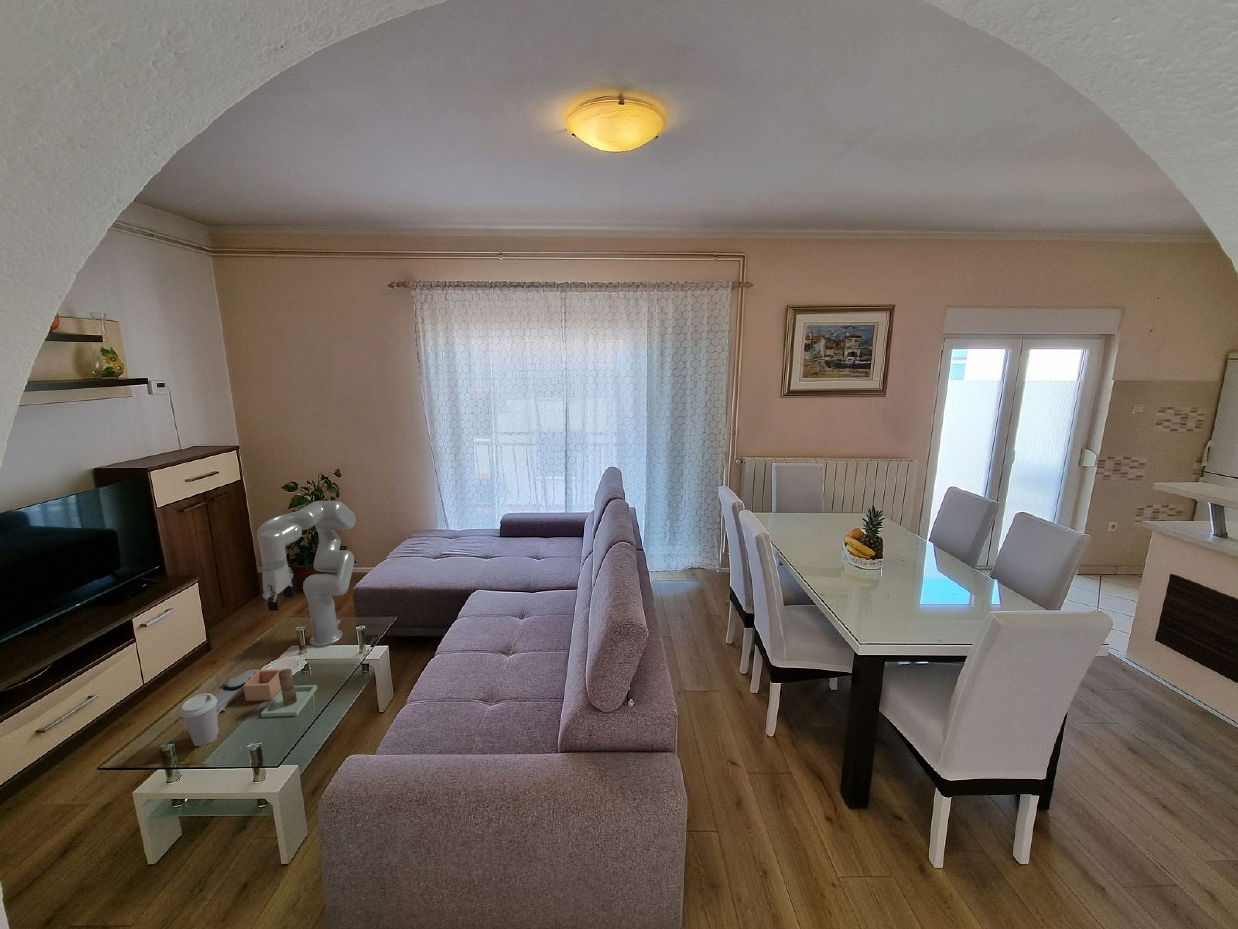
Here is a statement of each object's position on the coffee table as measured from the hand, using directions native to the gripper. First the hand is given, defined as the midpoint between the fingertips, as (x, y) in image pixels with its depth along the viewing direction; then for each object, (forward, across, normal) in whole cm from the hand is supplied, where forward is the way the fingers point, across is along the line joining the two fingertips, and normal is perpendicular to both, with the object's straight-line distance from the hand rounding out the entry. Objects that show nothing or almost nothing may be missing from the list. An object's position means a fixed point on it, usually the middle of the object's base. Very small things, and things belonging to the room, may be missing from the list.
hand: (281, 603), depth 185 cm
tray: (+33, +15, +7) cm, 37 cm away
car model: (+34, +10, -17) cm, 39 cm away
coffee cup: (+34, +30, -12) cm, 47 cm away
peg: (+32, +15, +7) cm, 36 cm away
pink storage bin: (+33, +9, -5) cm, 35 cm away
